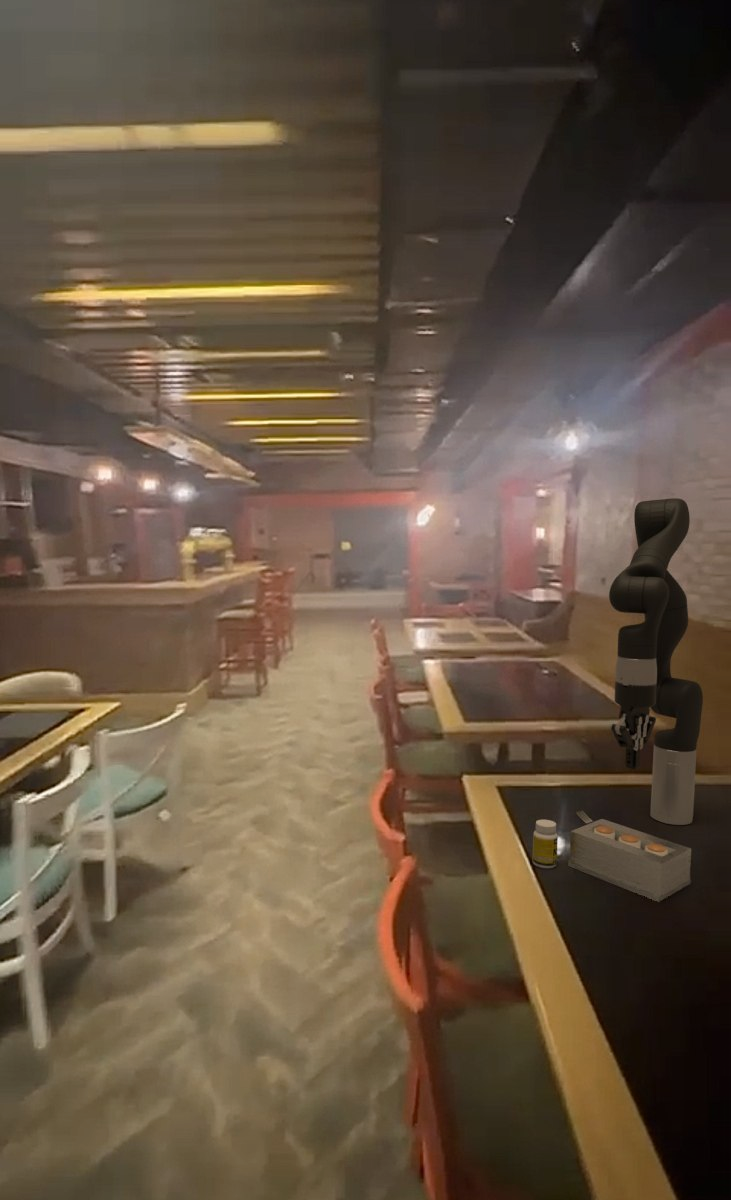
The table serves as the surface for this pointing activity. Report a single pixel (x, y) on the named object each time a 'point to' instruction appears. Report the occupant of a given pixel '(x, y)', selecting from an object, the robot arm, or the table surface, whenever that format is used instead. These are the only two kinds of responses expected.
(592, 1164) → the table surface
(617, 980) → the table surface
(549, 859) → the supplement bottle
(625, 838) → the knob
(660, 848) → the knob
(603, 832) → the knob
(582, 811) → the fork
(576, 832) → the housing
